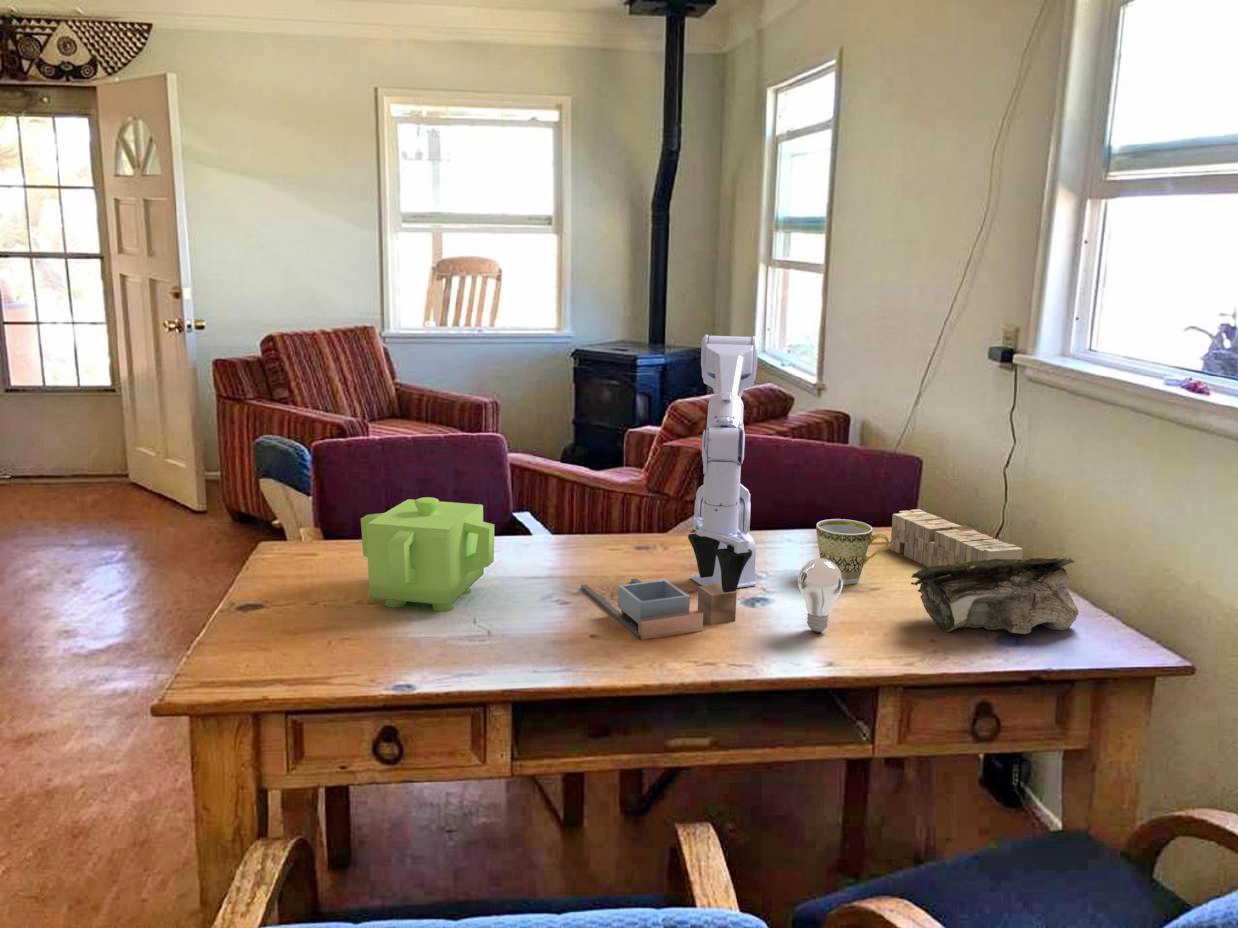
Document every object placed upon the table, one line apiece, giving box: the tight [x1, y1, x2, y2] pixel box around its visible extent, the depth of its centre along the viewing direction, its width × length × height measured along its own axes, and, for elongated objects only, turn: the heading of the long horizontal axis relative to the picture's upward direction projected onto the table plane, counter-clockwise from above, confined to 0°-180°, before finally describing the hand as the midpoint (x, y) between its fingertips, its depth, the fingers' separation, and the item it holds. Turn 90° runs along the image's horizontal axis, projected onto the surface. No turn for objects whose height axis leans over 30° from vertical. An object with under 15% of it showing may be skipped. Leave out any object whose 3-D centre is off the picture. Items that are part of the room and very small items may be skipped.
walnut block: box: [697, 584, 738, 626], centre depth 163 cm, size 4×4×5 cm
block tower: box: [889, 508, 1024, 577], centre depth 191 cm, size 8×8×29 cm
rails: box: [580, 577, 704, 641], centre depth 167 cm, size 11×25×3 cm, turn 24°
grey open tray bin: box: [617, 579, 691, 627], centre depth 162 cm, size 9×9×5 cm
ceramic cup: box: [815, 518, 890, 586], centre depth 182 cm, size 13×10×10 cm
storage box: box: [360, 496, 495, 613], centre depth 169 cm, size 25×23×17 cm
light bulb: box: [797, 557, 844, 634], centre depth 157 cm, size 7×7×12 cm
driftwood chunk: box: [910, 556, 1080, 635], centre depth 160 cm, size 28×13×15 cm
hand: (717, 583), depth 162 cm, fingers open, 7 cm apart
